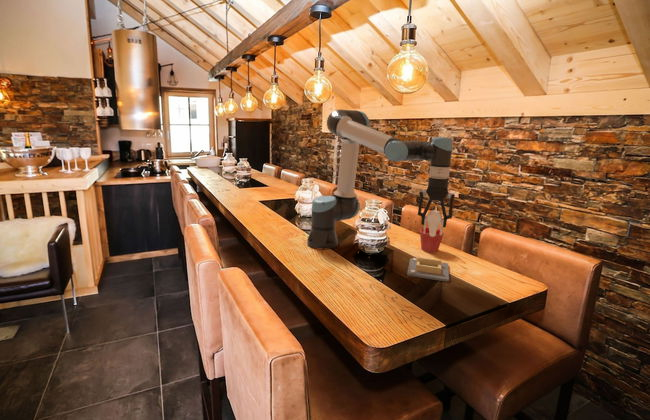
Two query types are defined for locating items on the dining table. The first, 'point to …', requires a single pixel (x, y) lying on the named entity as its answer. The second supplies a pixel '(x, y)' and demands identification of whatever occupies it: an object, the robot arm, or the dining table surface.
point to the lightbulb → (433, 221)
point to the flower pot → (430, 240)
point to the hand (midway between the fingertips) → (432, 233)
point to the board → (428, 269)
